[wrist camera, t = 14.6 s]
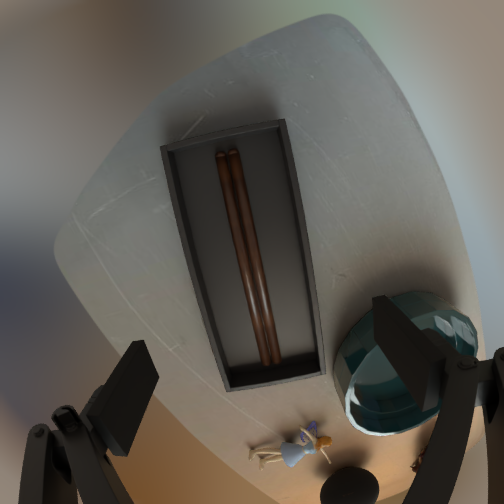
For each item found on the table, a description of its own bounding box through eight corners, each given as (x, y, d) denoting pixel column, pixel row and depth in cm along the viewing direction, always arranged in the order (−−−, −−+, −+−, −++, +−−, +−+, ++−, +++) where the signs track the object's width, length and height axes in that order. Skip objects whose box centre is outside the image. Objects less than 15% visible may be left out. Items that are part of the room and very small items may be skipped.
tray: (281, 124, 27) (285, 118, 24) (320, 358, 34) (326, 374, 31) (168, 149, 28) (159, 146, 25) (227, 376, 34) (226, 392, 31)
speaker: (341, 452, 38) (356, 499, 29) (381, 460, 40) (397, 500, 30) (304, 482, 41) (311, 526, 31) (345, 488, 42) (355, 527, 32)
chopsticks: (214, 152, 27) (213, 151, 26) (238, 147, 27) (237, 146, 26) (262, 363, 33) (262, 368, 32) (281, 359, 33) (282, 365, 32)
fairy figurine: (232, 455, 33) (316, 432, 31) (236, 430, 38) (314, 405, 35) (272, 487, 36) (346, 468, 33) (274, 465, 40) (342, 444, 38)
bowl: (458, 274, 31) (486, 290, 25) (445, 383, 36) (463, 405, 30) (326, 311, 32) (341, 338, 26) (335, 420, 36) (345, 451, 31)
